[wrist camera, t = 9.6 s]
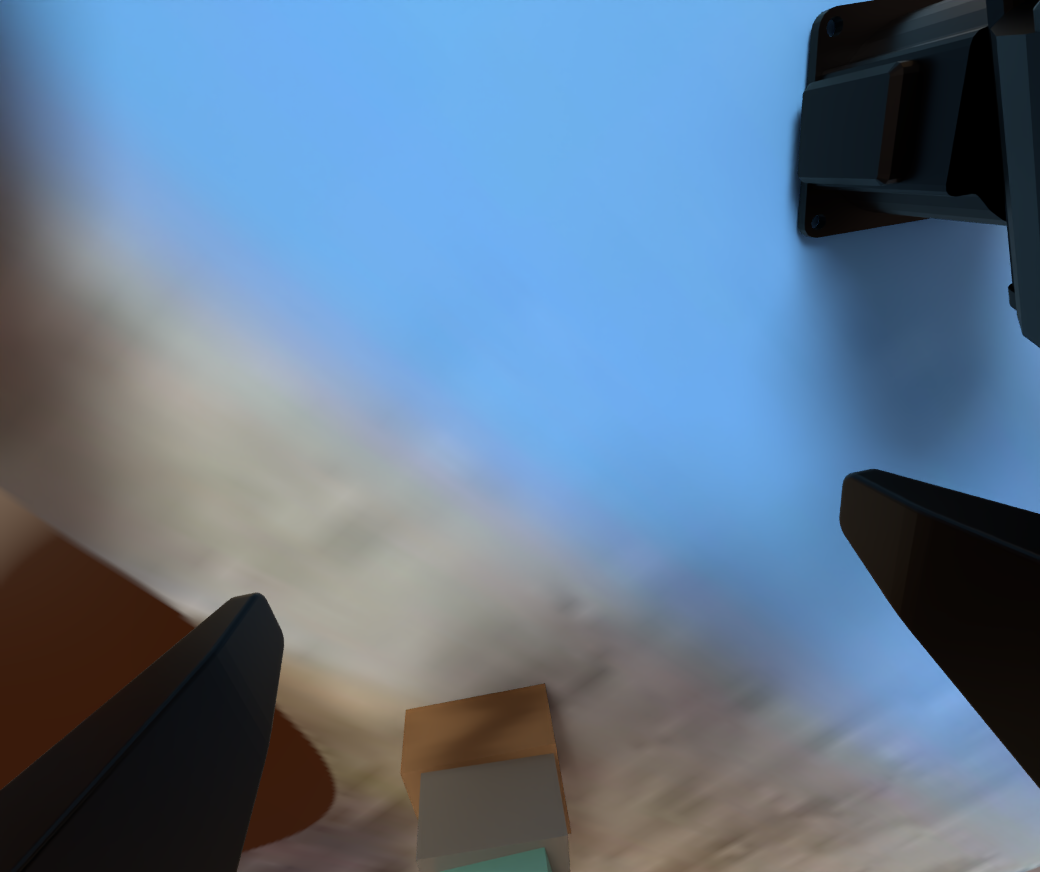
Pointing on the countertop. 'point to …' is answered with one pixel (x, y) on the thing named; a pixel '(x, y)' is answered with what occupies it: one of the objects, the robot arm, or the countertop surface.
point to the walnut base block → (477, 735)
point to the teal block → (511, 863)
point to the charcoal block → (491, 814)
